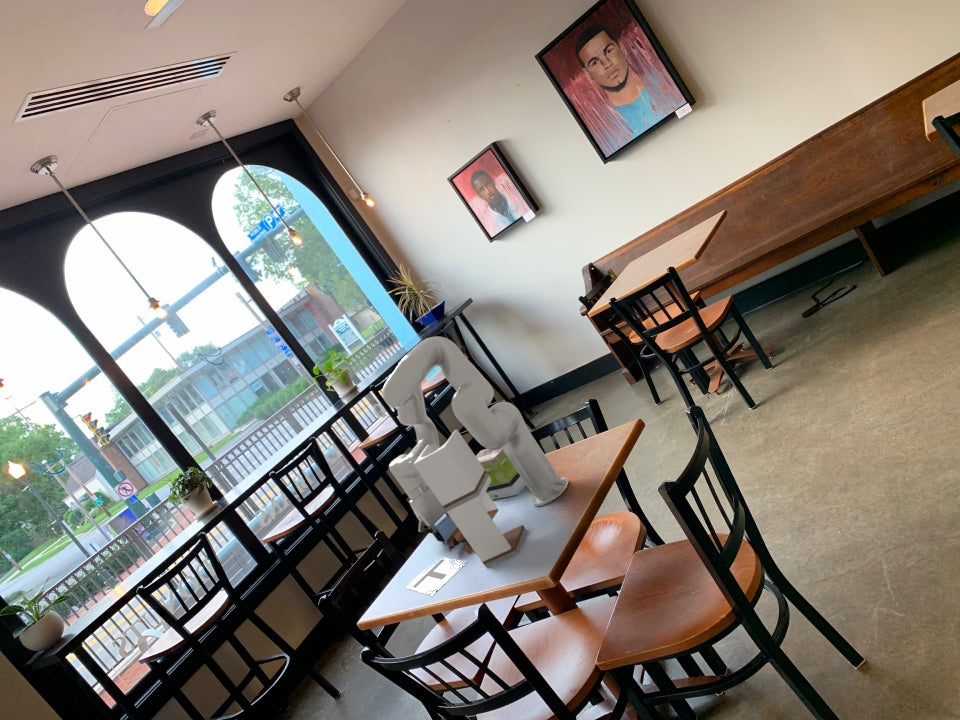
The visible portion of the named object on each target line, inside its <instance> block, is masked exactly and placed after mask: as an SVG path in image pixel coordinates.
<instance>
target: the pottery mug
mask: <svg viewBox="0 0 960 720" xmlns="http://www.w3.org/2000/svg"><path fill="white" fill-rule="evenodd" d="M461 543H462V544H464V545H465V546H464V548H463V552H465V553H466V554H467V555H470V554H471V553H472V552H474V550H473V548H472V547H471V546H470V544H469V543H468V541H467V540H466V538H465V537H464V536H463V534H462V533H461V531H460V530H459V529H458V527H457V528H456V529H455V530H454V531H453V533H452V534H451V535H450V536H449V538H448V539H447V541H446V543H445V544H446V545H447V546H448V550H449V552H452V550H453V549H455V547H457V546H459V545H460V544H461ZM465 543H466V544H465Z"/></svg>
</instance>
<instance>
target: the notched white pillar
mask: <svg viewBox="0 0 960 720" xmlns="http://www.w3.org/2000/svg"><path fill="white" fill-rule="evenodd" d="M413 465H414V466H415V468H416V469H417V470H418V472H419V473H420V475H421V476H422V478H423V479H424V480H425V482H426V483H427V485H428V486H429V487H430V489H431V490H432V492H433V493H434V495H435V496H436V497H437V499H438V500H439V502H440V503H441V504H442V506H443V507H444V509H445V510H446V512H447V513H448V514H449V516H450V517H451V519H452V520H453V521H454V523H455V524H456V526H457V527H458V529H459V530H460V531H461V533H462V534H463V536H464V537H465V538H466V540H467V541H468V543H469V544H470V546H471V547H472V548H473V552H475V554H476V556H477V557H478V558H479V559H480V561H481V562H482V564H483V565H484V567H485V568H486V567H487V568H489V566H490V567H492V566H494V565H496V564H498V562H499V563H501V562H502V561H505V560H507V559H509V558H511V557H515V556H517V555H518V554H520V551H521V548H522V544H523V542H524V539H525V536H526V533H527V528H526V527H525V526H524V525H523V524H521V525H519V526H517V527H515V528H512V529H510V530H508V531H506V532H504V533H502V531H501V530H500V529H499V527H498V526H497V525H496V522H494V518H495V517H496V516H497V514H498V512H499V508H498V507H497V505H496V504H495V502H494V500H492V499H491V498H490V497H489V495H488V494H487V492H486V490H487V488H488V486H489V484H490V482H491V480H492V479H491V478H490V476H489V475H488V474H487V472H486V471H485V469H484V468H483V466H482V465H481V463H480V462H479V460H478V459H477V458H476V455H475V453H474V452H473V450H472V449H471V448H470V446H469V445H468V443H467V442H466V440H465V439H464V437H463V436H462V435H461V432H459V430H458V429H455V430H453V432H452V433H451V435H450V436H449V438H447V441H445V443H444V444H442V445H441V446H439V449H437V450H436V451H435V452H434V450H433V449H432V447H431V446H430V444H429V445H427V446H426V447H425V449H424V450H423V452H422V453H421V454H420V456H419V457H418V458H417V460H416V461H415V463H414V464H413ZM500 561H501V562H500ZM495 563H496V564H495ZM493 564H494V565H493ZM491 565H492V566H491Z"/></svg>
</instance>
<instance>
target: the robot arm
mask: <svg viewBox="0 0 960 720" xmlns="http://www.w3.org/2000/svg"><path fill="white" fill-rule="evenodd" d="M437 367H440V369H441V371H442V374H443V375H444V378H445V379H446V380H447V382H448V383H449V384H450V386H452V388H453V389H454V390H455V391H456V392H454V394H453V396H452V399H451V409H452V412H453V414H454V416H455V418H456V419H457V420H458V421H459V423H460V424H462V426H463V427H464V428H465V429H466V430H467V431H468V433H469V434H470V435H471V436H472V437H473V438H474V439H475V441H476V442H478V443H479V444H480V445H481V446H482V447H484V448H485V449H489V450H499V449H501V448H503V450H504V452H505V454H506V455H507V457H508V458H509V460H510V462H511V463H512V464H513V466H514V467H515V469H516V470H517V472H518V473H519V475H520V476H521V478H522V479H523V481H524V482H525V484H526V486H527V488H528V489H529V491H530V492H531V494H532V498H531V503H532V505H533V506H534V507H541V506H542V507H543V506H545V505H548V504H550V503H551V502H553V501H554V500H553V499H554V498H556V497H557V496H558V495H559V494H560V493H561V492H562V491H563V490H564V488H565V486H566V484H567V482H568V481H569V479H568V478H567V477H565V476H561V477H560V475H559V474H558V472H557V470H556V469H555V467H554V466H553V465H552V463H551V461H550V460H549V459H548V457H547V456H546V454H545V453H544V452H543V450H542V448H541V447H540V445H539V444H538V443H537V442H538V441H536V439H535V438H534V436H533V435H532V433H531V431H530V430H529V428H528V426H527V424H526V421H525V420H524V418H523V416H522V414H521V412H520V410H519V409H518V408H517V407H516V406H515V405H514V404H513V403H511V402H508V401H499V402H497V403H495V404H493V405H492V406H491V407H490V408H488V406H489V404H490V403H491V401H492V400H493V398H494V395H495V391H494V388H493V386H492V385H491V384H490V382H489V381H488V380H487V379H486V378H485V377H484V376H483V374H482V373H481V372H480V371H479V370H478V369H477V368H476V367H475V365H474V364H473V363H472V362H470V360H469V359H468V357H466V355H465V354H464V353H463V352H462V350H461V349H460V348H459V347H458V345H456V343H455V342H453V340H450V339H449V338H447V337H443V336H437V335H436V336H431V337H428V338H425V339H423V340H421V341H420V342H419V343H418V344H416V345H415V346H414V347H413V348H412V349H411V350H410V351H409V352H408V353H407V354H406V355H404V357H402V358H401V360H400V361H399V363H398V365H397V366H396V367H395V369H394V370H393V372H392V373H391V374H390V375H389V377H388V378H387V380H386V381H385V382H384V385H383V387H382V398H383V401H384V402H385V403H386V404H387V405H388V406H389V407H392V408H395V409H396V410H397V416H398V421H399V423H400V424H402V425H403V426H413V428H414V431H415V434H416V441H417V443H416V445H415V446H414V447H413V448H412V449H411V451H410V452H409V453H408V454H407V453H404V454H400V455H398V456H397V457H396V458H394V459H393V460H391V462H390V463H389V465H388V469H389V471H390V472H391V474H392V475H393V476H394V478H395V479H396V481H397V483H398V484H399V485H400V486H401V488H402V490H403V491H404V492H405V493H406V495H407V497H408V498H409V499H410V500H409V505H410V507H411V509H412V510H413V513H414V515H415V516H416V518H417V519H418V521H419V522H418V530H417V531H418V532H419V533H423V534H424V533H426V534H427V533H428V534H432V535H433V537H434V538H435V539H436V541H437V542H440V543H444V541H445V540H444V538H443V537H442V536H441V534H440V533H439V531H437V530H436V528H435V523H436V522H437V521H438V520H439V519H441V518H442V517H443V516H444V515H445V516H449V514H448V513H447V512H446V510H445V509H444V507H443V506H442V504H441V503H440V502H439V500H438V499H437V497H436V496H435V495H434V493H433V492H432V490H431V489H430V487H429V486H428V485H427V483H426V482H425V480H424V479H423V478H422V476H421V475H420V473H419V472H418V470H417V469H416V468H415V466H414V465H413V464H414V463H415V461H416V460H417V458H418V457H419V456H420V454H421V453H422V452H423V450H424V449H425V447H426V446H427V445H429V444H430V446H431V447H432V449H433V450H434V452H435V451H436V450H437V449H439V448H440V439H439V435H438V429H437V428H436V425H435V424H434V422H433V421H432V419H431V418H430V417H429V416H428V415H427V412H426V411H427V410H426V405H425V404H426V403H425V398H424V392H423V388H422V383H423V382H424V381H425V379H426V378H427V377H428V376H429V375H430V373H432V372H433V371H434V370H435V369H436V368H437ZM567 479H568V480H567ZM556 499H557V498H556ZM552 500H553V501H552ZM549 502H550V503H549ZM547 503H548V504H547ZM425 526H427V528H425Z"/></svg>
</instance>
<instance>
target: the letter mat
mask: <svg viewBox="0 0 960 720" xmlns="http://www.w3.org/2000/svg"><path fill="white" fill-rule="evenodd" d="M443 557H444V556H443ZM449 558H450V557H444V559H443V558H442V559H440V561H439V562H438V561H437V562H438V563H437V562H436V563H437V564H436V565H434V564H433V565H432V566H433V567H432V566H431V568H430V567H429V569H428V570H427V569H426V568H425V569H426V570H427V571H428V572H427V571H425V569H424V570H422V571H421V573H419V574H418V575H417V576H416V577H415V578H413V579H412V581H411V582H409V584H408V585H406V586H405V589H407V590H410V589H411V590H412V591H414V592H418V593H421V594H423V593H424V595H426V594H427V595H428V594H430V593H432V592H430V590H431V591H433V590H435V589H437V588H438V589H437V590H438V591H440V589H441V588H442V587H444V584H447V583H448V582H449V581H450V580H451V579H452V578H453V577H454V576H455V575H456V574H457V573H459V571H461V569H462V568H463V567H464V566H465V565H466V564H464V565H463V564H461V563H462V562H463V561H464V562H465V560H460V559H455V558H450V559H451V560H452V559H453V560H455V562H454V561H453V560H452V561H453V562H454V563H456V564H457V565H456V564H454V563H452V564H454V565H453V566H452V564H451V563H450V562H451V560H450V559H449ZM449 560H450V561H449ZM456 560H457V561H458V562H457V561H456ZM460 561H462V562H460ZM459 562H460V563H459ZM464 562H463V563H464ZM460 564H461V565H460ZM458 565H460V566H458ZM462 565H463V567H462ZM453 567H454V568H455V569H454V568H453ZM459 567H461V568H460V569H458V568H459ZM451 568H452V569H451ZM457 569H458V570H457ZM456 570H457V571H456ZM424 571H425V572H424ZM423 572H424V573H423ZM422 573H423V574H422ZM411 590H410V591H411ZM437 590H436V591H437ZM427 591H428V592H427ZM436 591H434V592H433V593H432V594H431V595H428V596H430V597H433V596H434V595H435V594H436V593H437V592H438V591H437V592H436ZM426 592H427V593H426ZM425 593H426V594H425ZM427 595H426V596H427Z"/></svg>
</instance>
